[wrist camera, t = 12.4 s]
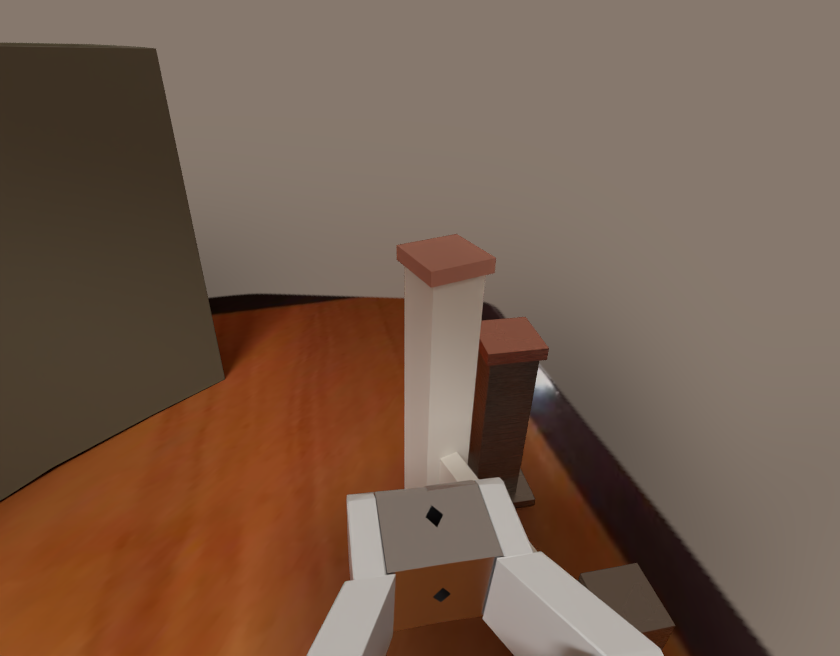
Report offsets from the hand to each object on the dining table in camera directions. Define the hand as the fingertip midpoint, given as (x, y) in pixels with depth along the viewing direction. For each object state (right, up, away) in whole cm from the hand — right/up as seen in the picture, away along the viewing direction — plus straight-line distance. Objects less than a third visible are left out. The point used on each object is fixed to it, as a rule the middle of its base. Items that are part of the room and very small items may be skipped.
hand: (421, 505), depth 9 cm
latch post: (+5, -8, +26) cm, 28 cm away
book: (-28, -4, +32) cm, 42 cm away
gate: (+4, -11, +20) cm, 23 cm away
